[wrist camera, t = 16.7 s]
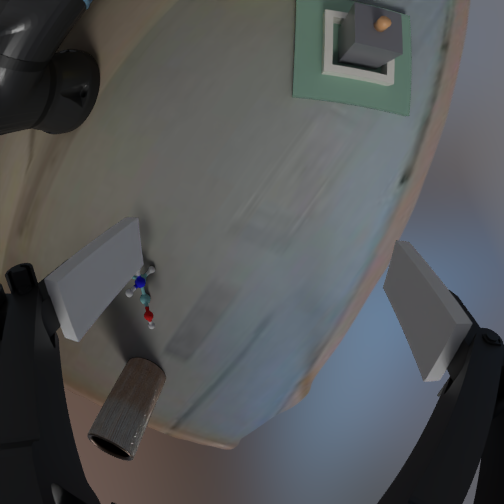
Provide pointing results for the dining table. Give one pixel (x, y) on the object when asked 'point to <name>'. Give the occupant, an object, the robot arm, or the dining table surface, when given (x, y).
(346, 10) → the board
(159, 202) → the dining table surface
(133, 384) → the planter
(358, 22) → the plug
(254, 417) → the dining table surface
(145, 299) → the molecular model
